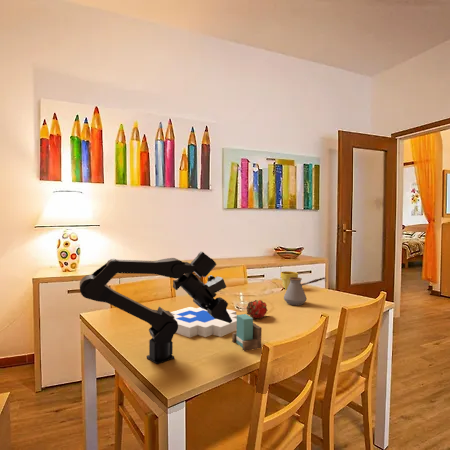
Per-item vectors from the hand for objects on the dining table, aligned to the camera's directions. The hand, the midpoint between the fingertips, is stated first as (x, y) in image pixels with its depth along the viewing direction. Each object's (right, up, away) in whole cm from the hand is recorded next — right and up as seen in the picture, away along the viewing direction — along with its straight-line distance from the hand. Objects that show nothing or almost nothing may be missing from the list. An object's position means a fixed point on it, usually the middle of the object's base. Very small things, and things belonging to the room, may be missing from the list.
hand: (225, 317), depth 119 cm
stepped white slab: (-9, -10, +25) cm, 28 cm away
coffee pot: (+39, -9, +56) cm, 69 cm away
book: (+7, -10, +3) cm, 13 cm away
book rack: (+7, -10, +3) cm, 13 cm away
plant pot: (+38, -7, +92) cm, 100 cm away
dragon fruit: (+14, -9, +35) cm, 39 cm away
